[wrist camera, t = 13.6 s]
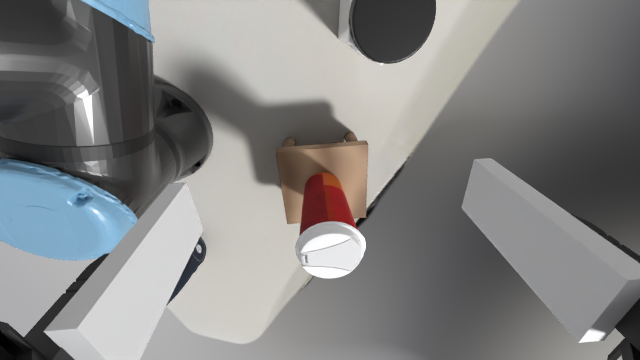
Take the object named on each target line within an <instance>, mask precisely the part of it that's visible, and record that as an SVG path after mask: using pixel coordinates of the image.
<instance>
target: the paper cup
mask: <svg viewBox="0 0 640 360" xmlns="http://www.w3.org/2000/svg"><path fill="white" fill-rule="evenodd" d="M365 248H366V242H365V238H364V237H363V236H362V235H361V234H360V232H359V231H358V230H357V228H356V225H355V222H354V219H353V216H352V213H351V210H350V207H349V205H348V202H347V199H346V196H345V193H344V191H343V188H342V185H341V183H340V181H339V179H338V178H337V177H336V176H335V175H333V174H331V173H327V172H320V173H316V174H314V175H312V176H311V177H310V178H309V179H308V180H307V182H306V185H305V189H304V197H303V205H302V216H301V226H300V236H299V238H298V240H297V243H296V255H297V257H298V259H299V261H300V262H301V264H302V266H303V268H304V269H305V270H306V271H307V272H309V273H310V274H312V275H314V276H317V277H321V278H337V277H341V276H344V275H346V274H348V273H350V272H351V271H352V270H353V269H354V268H356V266H357V265H358V264H359V262H360V260H361V259H362V257H363V255H364V251H365Z"/></svg>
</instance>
